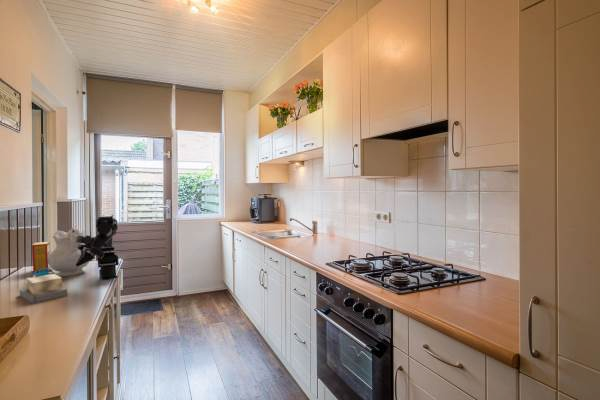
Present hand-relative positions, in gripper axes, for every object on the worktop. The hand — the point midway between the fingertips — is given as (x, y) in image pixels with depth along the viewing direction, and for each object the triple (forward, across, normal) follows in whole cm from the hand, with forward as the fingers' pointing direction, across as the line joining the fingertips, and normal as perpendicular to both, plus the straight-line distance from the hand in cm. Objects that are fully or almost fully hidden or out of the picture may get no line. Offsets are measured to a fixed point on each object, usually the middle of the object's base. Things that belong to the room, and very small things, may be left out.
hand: (76, 265), depth 150 cm
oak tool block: (+16, -1, -1) cm, 16 cm away
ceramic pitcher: (+2, -32, +12) cm, 35 cm away
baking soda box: (+7, -55, +7) cm, 56 cm away
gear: (+13, -19, +2) cm, 23 cm away
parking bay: (+16, 0, -2) cm, 16 cm away
